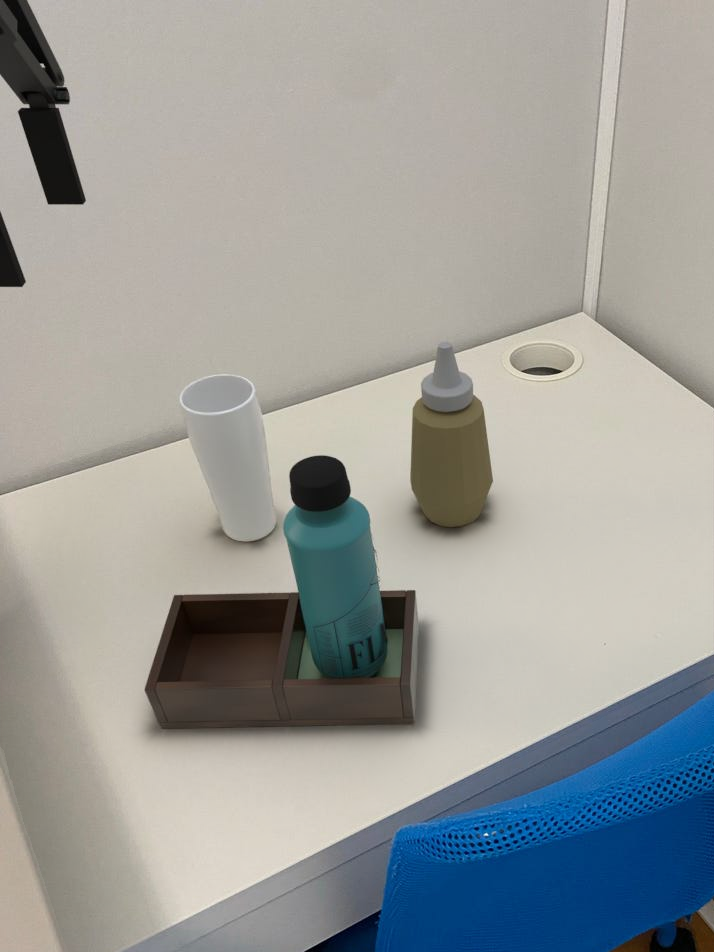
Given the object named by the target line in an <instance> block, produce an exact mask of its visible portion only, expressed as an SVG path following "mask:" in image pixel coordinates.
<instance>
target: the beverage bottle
mask: <svg viewBox="0 0 714 952" xmlns="http://www.w3.org/2000/svg"><path fill="white" fill-rule="evenodd" d="M288 477H289V487H290V488H289V492H290V497H291V502H292V503H293V504H294V505H293V506H292V507H291V508H290V510H289V511H288V512H287V513H286V515H285V517H284V520H283V523H282V531H283V535H284V537H285V540H286V543H287V548H288V553H289V558H290V561H291V566H292V570H293V574H294V579H295V583H296V587H297V592H298V593H299V597H300V604H301V606H300V607H301V609H302V611H301V612H302V613H303V618H304V620H303V621H304V622H305V628H306V631H307V634H306V635H307V636H308V637H307V638H308V640H309V645H310V650H311V654H312V659H313V662H314V664H315V666H316V667H317V669H318V670H319V671H320V673H322V674H323V675H324V676H325V677H327V678H329V679H336V678H369V677H370V676H372V675H374V674H375V673H376V672H377V671H378V670H379V669H380V668H381V667H382V666H383V664H384V662H385V660H386V656H387V655H388V654H387V651H388V648H387V643H388V640H389V639H388V640H387V636H386V631H385V628H386V630H387V627H386V626H387V625H386V617H385V616H384V617H385V625H384V618H383V611H382V605H383V604H382V602H381V596H380V592H381V591H382V590H381V588H380V584H379V583H380V582H381V576H379V575H378V572H380V569H379V566H378V555H377V550H376V548H375V547H374V542H373V540H375V539H374V536H373V534H372V531H371V530H372V529H371V517H370V513H369V510H368V508H367V507H366V506H365V505H364V504H363V503H362V502H361V501H359V500H358V499H357V498H354V497H352V496H351V493H352V488H351V483H350V480H349V477H348V473H347V468H346V467H345V465H344V463H343V462H342V461H341V460H339V459H338V458H336V457H334V456H330V455H324V454H323V455H322V454H321V455H313V456H308V457H306V458H303V459H301V460H299V461H297V462H295V464H293V466H292V467H291V468H290V470H289V475H288ZM381 594H382V593H381ZM298 604H299V603H298ZM383 610H384V609H383ZM384 611H385V610H384ZM300 614H301V613H300ZM384 615H385V613H384ZM302 623H303V622H302ZM303 624H304V623H303ZM304 632H305V631H304ZM387 633H388V632H387ZM306 641H307V640H306ZM388 646H389V644H388ZM308 650H309V649H308ZM388 652H389V651H388Z"/></svg>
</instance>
